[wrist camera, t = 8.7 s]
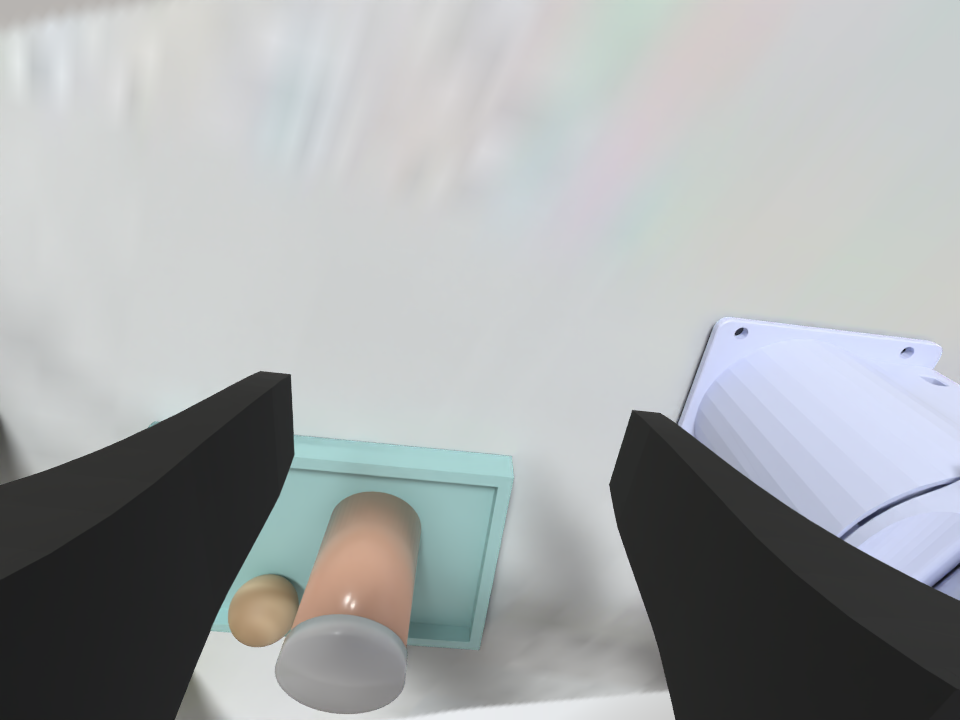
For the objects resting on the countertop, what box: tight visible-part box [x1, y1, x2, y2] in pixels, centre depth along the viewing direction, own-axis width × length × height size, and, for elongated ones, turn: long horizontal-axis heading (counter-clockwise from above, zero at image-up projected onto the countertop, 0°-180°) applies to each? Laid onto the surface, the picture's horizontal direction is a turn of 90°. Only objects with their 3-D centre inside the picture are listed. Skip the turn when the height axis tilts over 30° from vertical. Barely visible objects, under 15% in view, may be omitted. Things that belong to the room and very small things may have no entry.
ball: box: [228, 574, 299, 647], centre depth 25 cm, size 3×3×3 cm
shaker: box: [275, 491, 421, 714], centre depth 21 cm, size 5×5×7 cm
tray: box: [148, 422, 514, 650], centre depth 25 cm, size 16×12×2 cm
